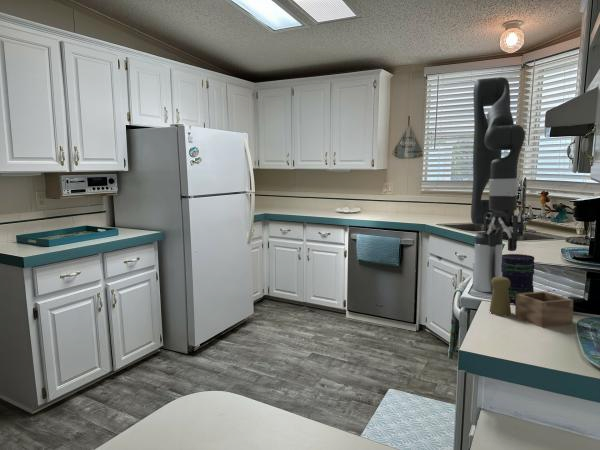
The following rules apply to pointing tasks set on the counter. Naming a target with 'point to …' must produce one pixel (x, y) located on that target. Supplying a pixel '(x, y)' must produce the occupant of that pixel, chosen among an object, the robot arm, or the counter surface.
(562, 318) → the open walnut box
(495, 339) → the counter surface
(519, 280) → the storage jar
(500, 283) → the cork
